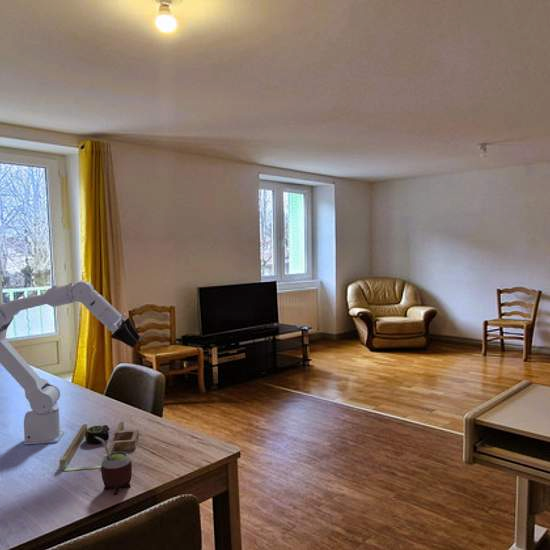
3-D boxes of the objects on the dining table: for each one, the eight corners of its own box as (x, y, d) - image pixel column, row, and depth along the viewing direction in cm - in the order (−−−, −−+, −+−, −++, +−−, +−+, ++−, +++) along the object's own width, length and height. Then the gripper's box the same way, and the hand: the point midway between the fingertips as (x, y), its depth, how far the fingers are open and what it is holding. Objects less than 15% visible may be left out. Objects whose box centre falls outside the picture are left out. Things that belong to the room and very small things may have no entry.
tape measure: (109, 443, 139) (108, 431, 139) (84, 447, 137) (84, 434, 137) (109, 434, 146) (109, 423, 146) (86, 437, 144) (85, 426, 144)
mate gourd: (134, 479, 118) (132, 421, 117) (129, 496, 110) (127, 434, 109) (103, 482, 116) (101, 423, 115) (96, 499, 109) (94, 436, 108)
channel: (58, 471, 122) (58, 461, 122) (82, 432, 148) (82, 423, 148) (130, 465, 125) (130, 455, 125) (141, 427, 151) (141, 419, 151)
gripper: (110, 306, 137) (143, 338, 140) (117, 299, 152) (147, 328, 154) (92, 323, 137) (125, 355, 139) (101, 314, 151) (132, 343, 154)
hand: (136, 342), depth 147 cm, fingers open, 7 cm apart
